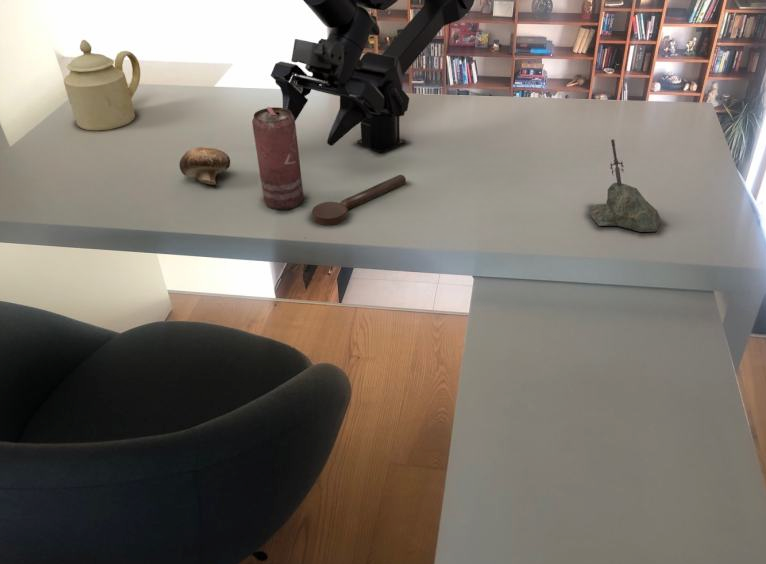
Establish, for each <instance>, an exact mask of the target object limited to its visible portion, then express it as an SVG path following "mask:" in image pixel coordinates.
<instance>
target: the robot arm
mask: <svg viewBox="0 0 766 564" xmlns="http://www.w3.org/2000/svg"><path fill="white" fill-rule="evenodd" d="M302 1H303V2H304V3H305V4H306V5H307V6H308V8H309V9H310V10H311V11H312V12H313V14H314V15H315V16H316V17H317V18H318V19H319V20H320V22H321V23H322V24H323V25H324V26H325V27H327V28H329V29H330V31H329V33H328V36H327V39H325V38H320V39H319V40H318V42H313V41H310V40H309V41H308V40H303V39H298V38H294V42H293V49H292V53H291V54H292V55H291V62H292V63H291V62H286V61H278V62H276V63H275V64H274V66H273V69H272V70H271V73H270V77H271V78H272V79H274V81H275V85H277V86H278V87H279V88H280V92H281V96H282V108H285V109H288V110H290V111H291V113H292V115H293V116H294V118H295V122H296V121H297V119H298V118H299V116H300V114H301V113H302V111H303V110H304V108H305V106H306V105H307V103H308V102H309V99H308V98H307V97H306V96H308V95H309V94H311V92H312V91H316V92H320V93H324V94H328V95H332V96H337V97H339V110H338V111H337V114H336V116H335V119H334V121H333V124H332V126H331V129H330V131H329V133H328V138H327V141H326V143H327V145H328V146H330V147H333V146H334V145H335V144H337V142H339V141H340V140H341V139H342V138H343V137H344V136H346V134H348V133H349V132H350V131H351V130H353V128H355V127H357V126H358V125H359V124H360V138H359V139H358V140H356V144H357V145H360V146H362V147H364V148H366V149H369V150H371V151H374V152H375V153H379V154H383V153H387V152H388V151H390V150H393V149H395V148H398V147H399V146H403V145H405V144H406V143H407V140H406V139H404V138H402V137H401V134H400V117H403V116H405V113H406V112H407V111H408V109H409V103H410V97H409V95H407V93H406V92H405V91H404V89H403V87H404V86H403V85H404V84H403V83H404V82H403V81H404V80H403V79H404V78H403V77H404V76H405V73H407V71H408V70H409V69H410V67H411V66H412V65H413V64H414V63H415V61H417V60H418V58H419V57H420V55H421V54H422V53H423V52H424V51H425V49H427V47H428V46H429V44H430V43H431V42H432V41H433V40H434V38H435V37H436V36H437V35H438V34H439V32H440V31H441V30H442V29H443V28H444V27H445V26H448V25H451V24H453V23H456V22H459V21H461V19H463V18H464V17H465V16H466V15H468V13H470V11H471V9H472V8H473V6H474V3H475V0H423V5H422V7H421V8H420V9H419V10H418V11H417V13H416V14H415V15H414V16H413V17H412V18H411V20H410V21H409V22H408V23H407V25H405V27H404V28H402V30H401V31H400V33H398V35H397V36H396V37H395V38H394V39H393V40H392V41H391V43H390V44H389V45H388V47H386V49H385V50H384V51H383V52H382V53H375V52H371V51H370V52H369V51H367V52H366V53H364V54H363V52H364V50H365V47H366V44H367V42H368V40H369V37H370V35H372V36H379V35H380V33H381V30H380V25H378V20H377V19H378V18H377V16H376V15H370V13H369V12H368V10H366V9H371V10H376V11H386V10H388V8H390V7H392V6H393V5H394V4H396V3H397V2H398V1H399V0H302ZM295 63H301V64H304V65H305V66H304V68H305V69H306V71H308V73H311V74H312V75H308V74H307V73H306V71H304V70H303V69H302V68H301V67H300V66H299V65H298V64H295Z"/></svg>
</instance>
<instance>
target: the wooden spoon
mask: <svg viewBox="0 0 766 564" xmlns="http://www.w3.org/2000/svg"><path fill="white" fill-rule="evenodd" d="M406 180H407V179H406V176H405V175H404V174H398V175H396V176H393V177H392V178H389V179H387V180H385V181H383V182H380V183H377V184H376V185H373V186H372V187H369V188H366V189H365V190H363V191H360V192H358V193H356V194H353V195H351V196H349V197H347V198H345V199H343V200H340V202H338V201H325V202H321V203H318V204H316V205H315V206H313V208H312V210H311V212H312V219H313V221H314V222H315V223H316V224H319V225H322V226H334V225H338V224H341V223H343V222H345V221H346V220H347V219H348V211H349V210H351V209H352V208H355V207H357V206H359V205H361V204H364V203H366V202H368V201H370V200H372V199H374V198H377V197H379V196H381V195H383V194H385V193H388V192H389V191H393V190H394V189H396V188H398V187H401V186H403V185H404V184H405V183H406Z"/></svg>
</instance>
